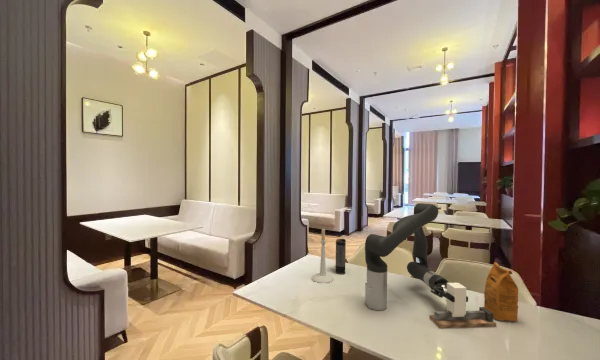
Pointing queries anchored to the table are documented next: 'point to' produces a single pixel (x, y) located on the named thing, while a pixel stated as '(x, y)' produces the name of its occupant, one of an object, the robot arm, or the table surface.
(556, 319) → the table surface
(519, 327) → the table surface
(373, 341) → the table surface
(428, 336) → the table surface
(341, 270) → the electronic device
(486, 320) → the rail base
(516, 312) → the coffee package
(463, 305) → the tall cream pillar
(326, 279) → the candlestick
